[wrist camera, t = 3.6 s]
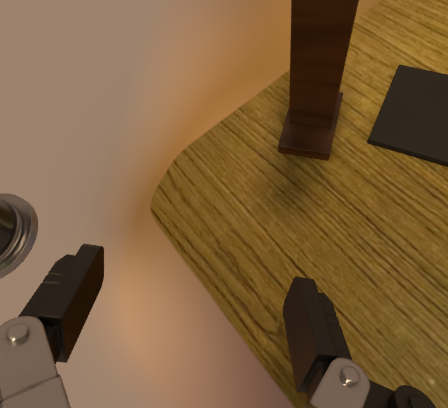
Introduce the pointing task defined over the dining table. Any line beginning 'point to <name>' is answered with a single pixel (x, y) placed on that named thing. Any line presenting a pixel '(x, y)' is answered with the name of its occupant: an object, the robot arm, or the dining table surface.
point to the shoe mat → (415, 115)
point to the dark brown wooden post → (316, 74)
